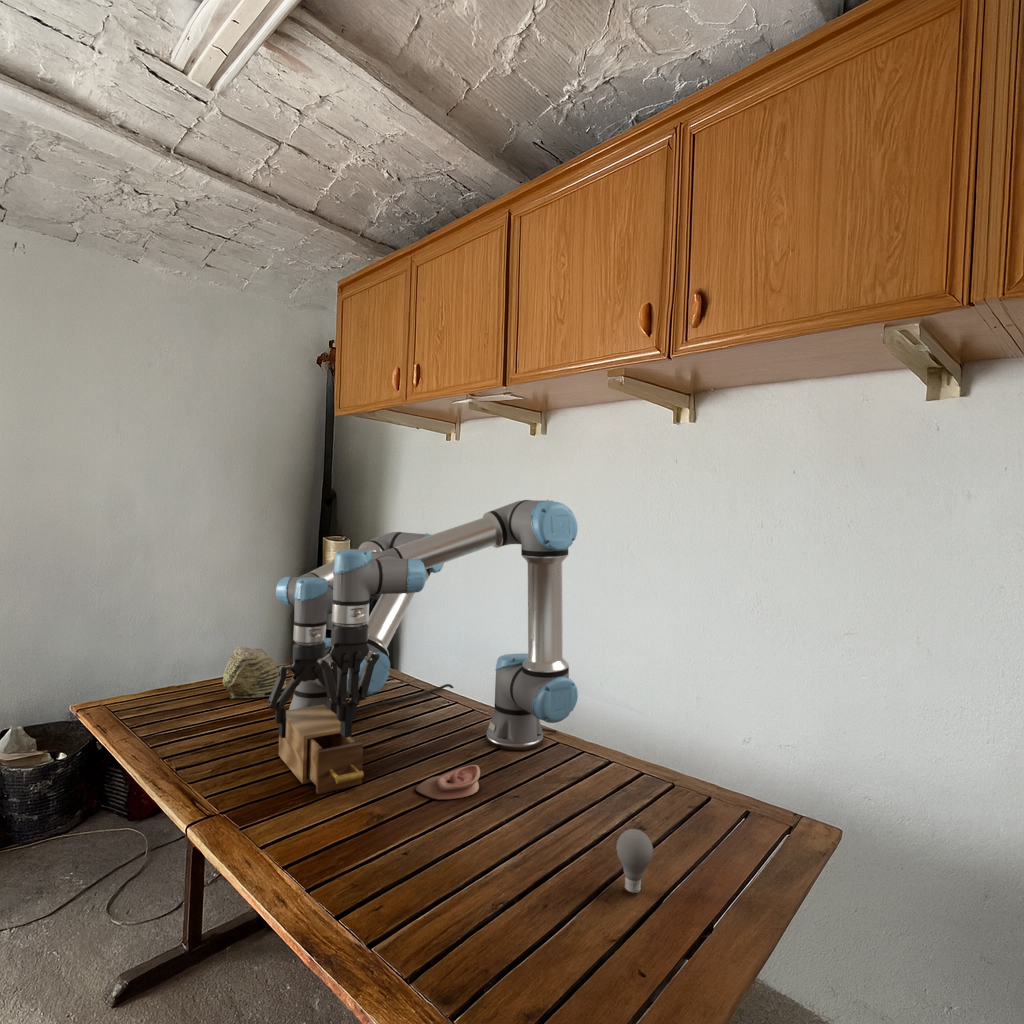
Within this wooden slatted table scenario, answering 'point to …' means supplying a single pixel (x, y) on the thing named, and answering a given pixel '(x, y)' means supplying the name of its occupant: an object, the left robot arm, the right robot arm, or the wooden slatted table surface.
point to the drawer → (334, 762)
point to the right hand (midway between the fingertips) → (345, 735)
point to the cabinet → (305, 736)
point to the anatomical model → (452, 784)
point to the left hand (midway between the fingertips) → (306, 731)
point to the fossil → (250, 674)
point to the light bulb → (634, 857)
